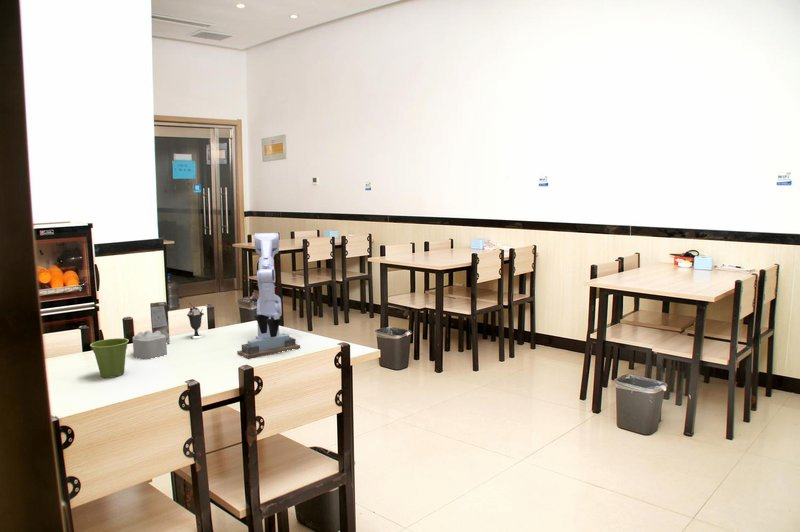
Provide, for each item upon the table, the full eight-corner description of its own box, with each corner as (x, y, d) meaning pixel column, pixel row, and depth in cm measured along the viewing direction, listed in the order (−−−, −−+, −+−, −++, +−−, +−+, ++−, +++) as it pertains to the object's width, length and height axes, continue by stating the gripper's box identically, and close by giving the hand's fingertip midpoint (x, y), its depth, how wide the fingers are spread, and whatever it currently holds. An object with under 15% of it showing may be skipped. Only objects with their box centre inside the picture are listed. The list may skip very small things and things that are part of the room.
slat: (248, 351, 229) (247, 340, 228) (285, 343, 239) (285, 333, 238) (251, 352, 226) (251, 342, 226) (289, 345, 237) (289, 335, 236)
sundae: (184, 338, 255) (182, 303, 253) (196, 335, 261) (194, 300, 259) (196, 340, 252) (194, 304, 250) (208, 336, 258) (206, 301, 256)
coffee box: (170, 344, 246) (167, 305, 244) (153, 345, 244) (150, 306, 242) (168, 339, 254) (166, 301, 252) (152, 340, 252) (149, 302, 250)
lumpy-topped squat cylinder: (144, 360, 222) (142, 337, 221) (127, 354, 231) (125, 332, 230) (170, 354, 230) (169, 332, 229) (153, 349, 239) (152, 327, 237)
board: (237, 354, 229) (236, 344, 229) (288, 344, 243) (288, 335, 243) (248, 359, 222) (247, 349, 222) (300, 348, 236) (300, 339, 236)
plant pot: (120, 367, 214) (118, 336, 212) (137, 373, 206) (135, 341, 205) (86, 375, 204) (83, 343, 203) (102, 382, 197) (100, 348, 196)
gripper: (248, 298, 233) (250, 333, 235) (266, 304, 222) (268, 340, 224) (265, 296, 238) (266, 330, 239) (283, 301, 227) (285, 337, 228)
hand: (268, 334), depth 232 cm, fingers open, 7 cm apart
